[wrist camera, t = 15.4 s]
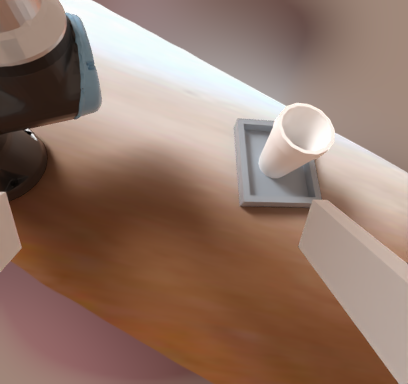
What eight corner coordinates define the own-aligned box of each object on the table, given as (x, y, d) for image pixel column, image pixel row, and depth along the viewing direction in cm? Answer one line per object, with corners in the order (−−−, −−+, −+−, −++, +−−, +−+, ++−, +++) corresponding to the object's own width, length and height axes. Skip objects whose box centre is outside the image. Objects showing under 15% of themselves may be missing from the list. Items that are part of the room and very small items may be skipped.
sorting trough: (239, 206, 47) (244, 201, 44) (233, 126, 53) (237, 118, 50) (313, 207, 49) (322, 203, 46) (299, 131, 55) (307, 123, 52)
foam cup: (300, 157, 52) (341, 120, 40) (286, 193, 48) (326, 164, 36) (260, 137, 52) (288, 94, 40) (244, 171, 49) (269, 135, 36)
